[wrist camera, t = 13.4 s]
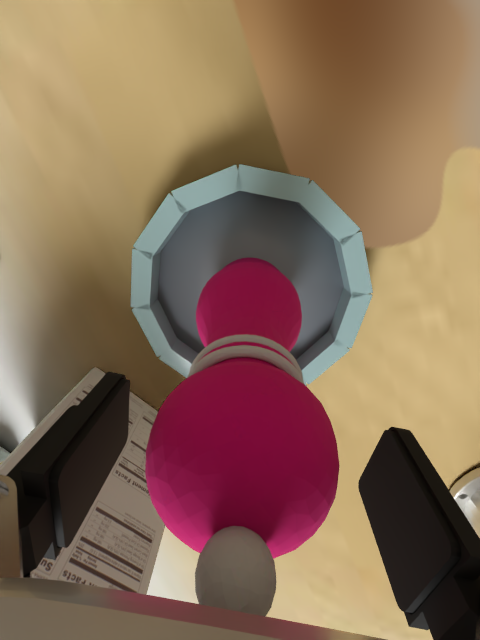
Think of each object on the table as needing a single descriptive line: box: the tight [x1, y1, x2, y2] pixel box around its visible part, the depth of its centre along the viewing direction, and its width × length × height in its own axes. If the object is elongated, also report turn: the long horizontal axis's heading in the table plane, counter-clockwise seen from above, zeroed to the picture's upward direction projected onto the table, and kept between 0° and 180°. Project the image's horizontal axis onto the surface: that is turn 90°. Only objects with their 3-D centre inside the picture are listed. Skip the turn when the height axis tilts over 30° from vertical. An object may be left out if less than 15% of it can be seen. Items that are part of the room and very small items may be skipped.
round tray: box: [131, 164, 373, 386], centre depth 23 cm, size 18×18×3 cm
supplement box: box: [0, 367, 165, 595], centre depth 25 cm, size 13×13×18 cm
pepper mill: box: [145, 258, 339, 616], centre depth 15 cm, size 7×7×20 cm
